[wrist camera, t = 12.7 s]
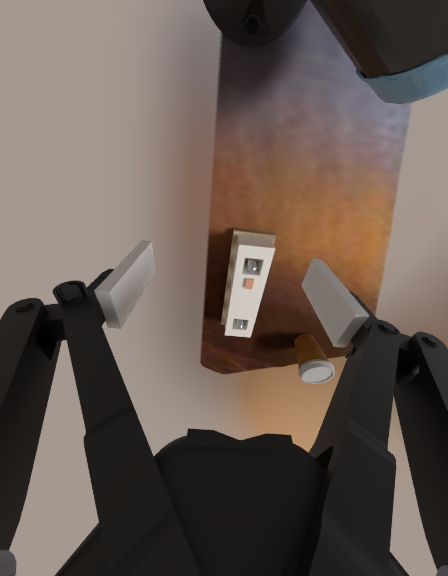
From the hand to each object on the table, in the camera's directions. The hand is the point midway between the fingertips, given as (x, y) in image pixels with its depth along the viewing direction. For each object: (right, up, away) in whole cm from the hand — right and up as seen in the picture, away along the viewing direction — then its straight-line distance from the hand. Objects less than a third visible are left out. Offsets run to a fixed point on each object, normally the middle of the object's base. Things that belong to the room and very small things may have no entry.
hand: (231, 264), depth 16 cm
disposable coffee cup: (+25, -19, +46) cm, 56 cm away
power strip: (+5, -2, +32) cm, 32 cm away
